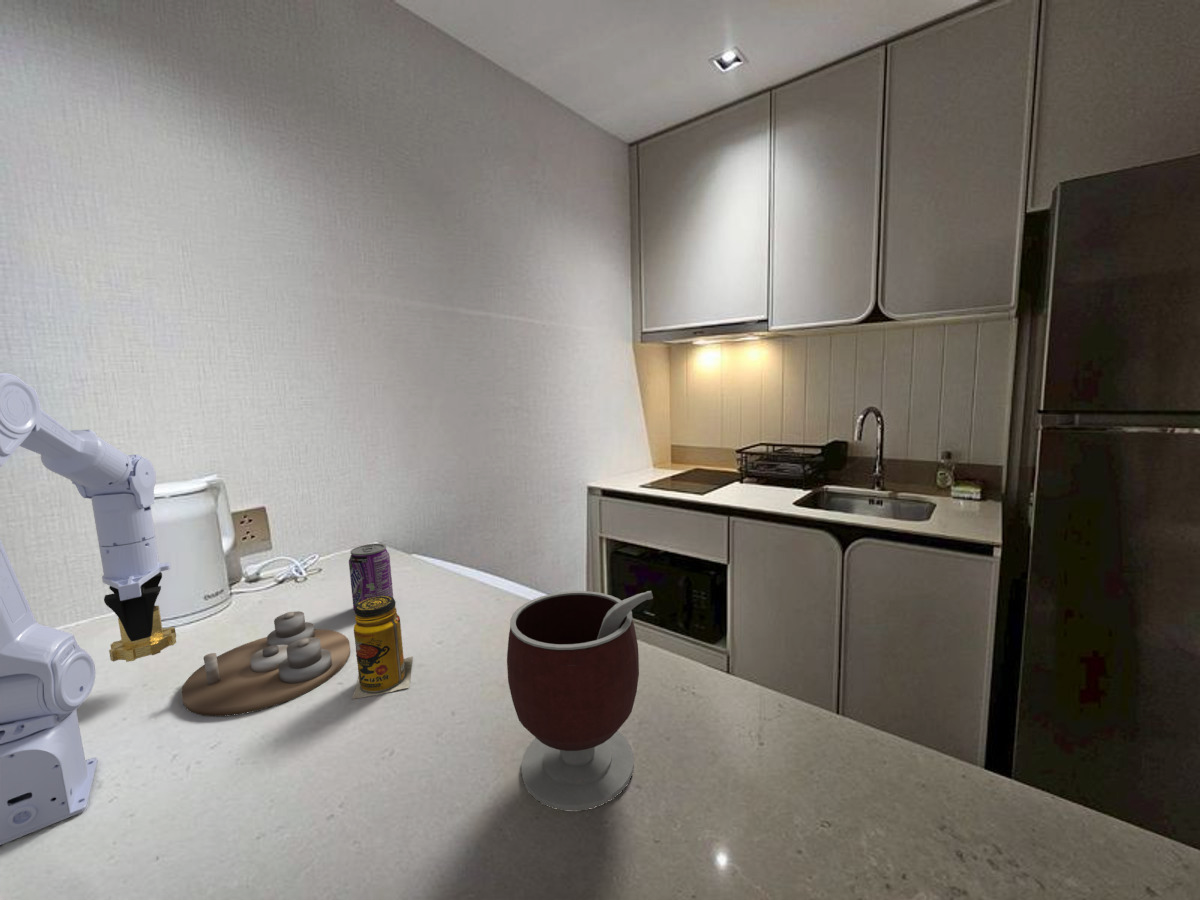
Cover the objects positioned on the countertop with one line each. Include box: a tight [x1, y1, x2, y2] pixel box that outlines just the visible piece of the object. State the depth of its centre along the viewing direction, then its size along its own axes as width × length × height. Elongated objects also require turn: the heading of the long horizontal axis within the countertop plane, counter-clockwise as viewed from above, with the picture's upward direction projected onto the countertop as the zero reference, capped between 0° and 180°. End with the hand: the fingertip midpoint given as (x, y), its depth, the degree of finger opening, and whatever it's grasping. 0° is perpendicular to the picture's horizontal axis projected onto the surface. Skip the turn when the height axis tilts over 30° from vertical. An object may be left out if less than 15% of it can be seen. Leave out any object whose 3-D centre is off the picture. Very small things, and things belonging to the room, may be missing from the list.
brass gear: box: [108, 605, 177, 663], centre depth 70 cm, size 7×7×6 cm
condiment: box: [351, 596, 414, 700], centre depth 71 cm, size 7×8×12 cm
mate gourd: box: [506, 590, 654, 811], centre depth 52 cm, size 16×14×20 cm
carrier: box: [181, 610, 351, 717], centre depth 74 cm, size 21×21×6 cm
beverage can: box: [348, 543, 394, 612], centre depth 94 cm, size 7×7×12 cm
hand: (142, 632), depth 70 cm, fingers closed on brass gear, 4 cm apart
